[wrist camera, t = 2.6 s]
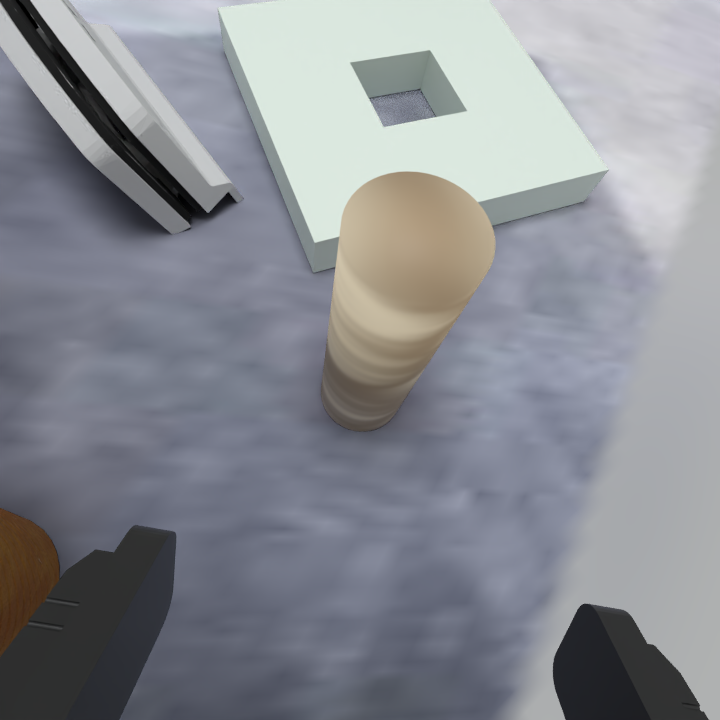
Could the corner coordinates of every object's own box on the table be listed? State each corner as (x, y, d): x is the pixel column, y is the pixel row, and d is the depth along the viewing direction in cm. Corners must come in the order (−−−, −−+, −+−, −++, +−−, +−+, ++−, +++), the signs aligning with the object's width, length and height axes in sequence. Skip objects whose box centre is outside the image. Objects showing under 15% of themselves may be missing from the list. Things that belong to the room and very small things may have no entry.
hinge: (247, 202, 30) (156, 85, 20) (188, 249, 30) (70, 153, 21) (123, 43, 34) (-1, -118, 25) (72, 84, 34) (-72, -60, 25)
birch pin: (337, 442, 25) (376, 320, 12) (310, 368, 26) (318, 189, 14) (412, 415, 26) (522, 277, 13) (382, 346, 27) (454, 159, 15)
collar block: (313, 272, 29) (314, 242, 26) (224, 50, 35) (217, 7, 32) (583, 201, 33) (609, 169, 31) (461, 17, 40) (473, -23, 37)
